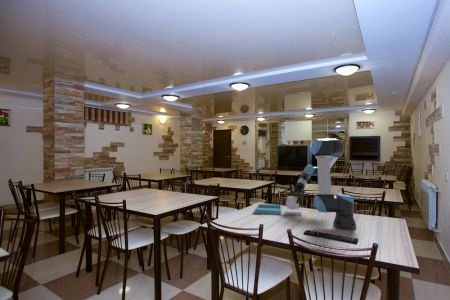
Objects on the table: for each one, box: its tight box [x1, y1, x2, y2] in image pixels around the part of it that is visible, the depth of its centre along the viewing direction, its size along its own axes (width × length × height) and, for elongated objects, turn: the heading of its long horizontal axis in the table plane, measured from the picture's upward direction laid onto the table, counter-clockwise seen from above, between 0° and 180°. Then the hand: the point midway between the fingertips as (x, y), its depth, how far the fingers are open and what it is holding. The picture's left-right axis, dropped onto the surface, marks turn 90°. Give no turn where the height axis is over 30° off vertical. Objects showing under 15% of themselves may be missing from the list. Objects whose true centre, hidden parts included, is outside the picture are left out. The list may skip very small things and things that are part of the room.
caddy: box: [286, 195, 300, 210], centre depth 218 cm, size 7×7×10 cm
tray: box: [254, 203, 283, 216], centre depth 229 cm, size 22×22×4 cm
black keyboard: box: [303, 229, 359, 245], centre depth 163 cm, size 8×32×2 cm, turn 56°
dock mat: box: [284, 211, 303, 217], centre depth 218 cm, size 14×14×1 cm
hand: (290, 205), depth 216 cm, fingers closed on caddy, 7 cm apart
